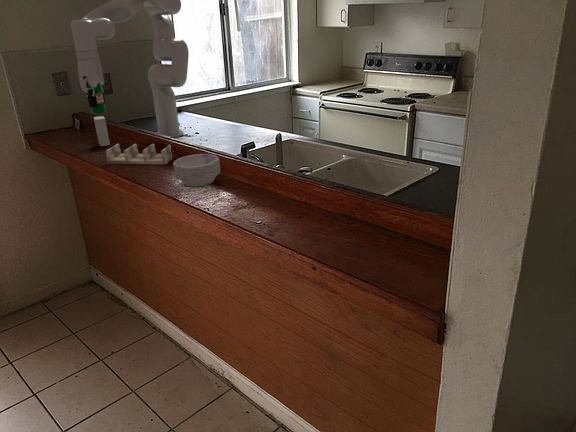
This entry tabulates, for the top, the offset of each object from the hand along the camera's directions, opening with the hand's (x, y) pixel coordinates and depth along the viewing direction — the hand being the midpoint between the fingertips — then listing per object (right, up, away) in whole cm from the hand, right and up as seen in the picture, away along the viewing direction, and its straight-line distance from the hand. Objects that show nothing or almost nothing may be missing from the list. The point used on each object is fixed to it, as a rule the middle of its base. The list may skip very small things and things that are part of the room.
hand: (97, 104), depth 190 cm
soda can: (0, -3, +1) cm, 3 cm away
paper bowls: (+43, -31, -23) cm, 58 cm away
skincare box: (-8, -11, +28) cm, 31 cm away
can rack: (+16, -21, +4) cm, 26 cm away
